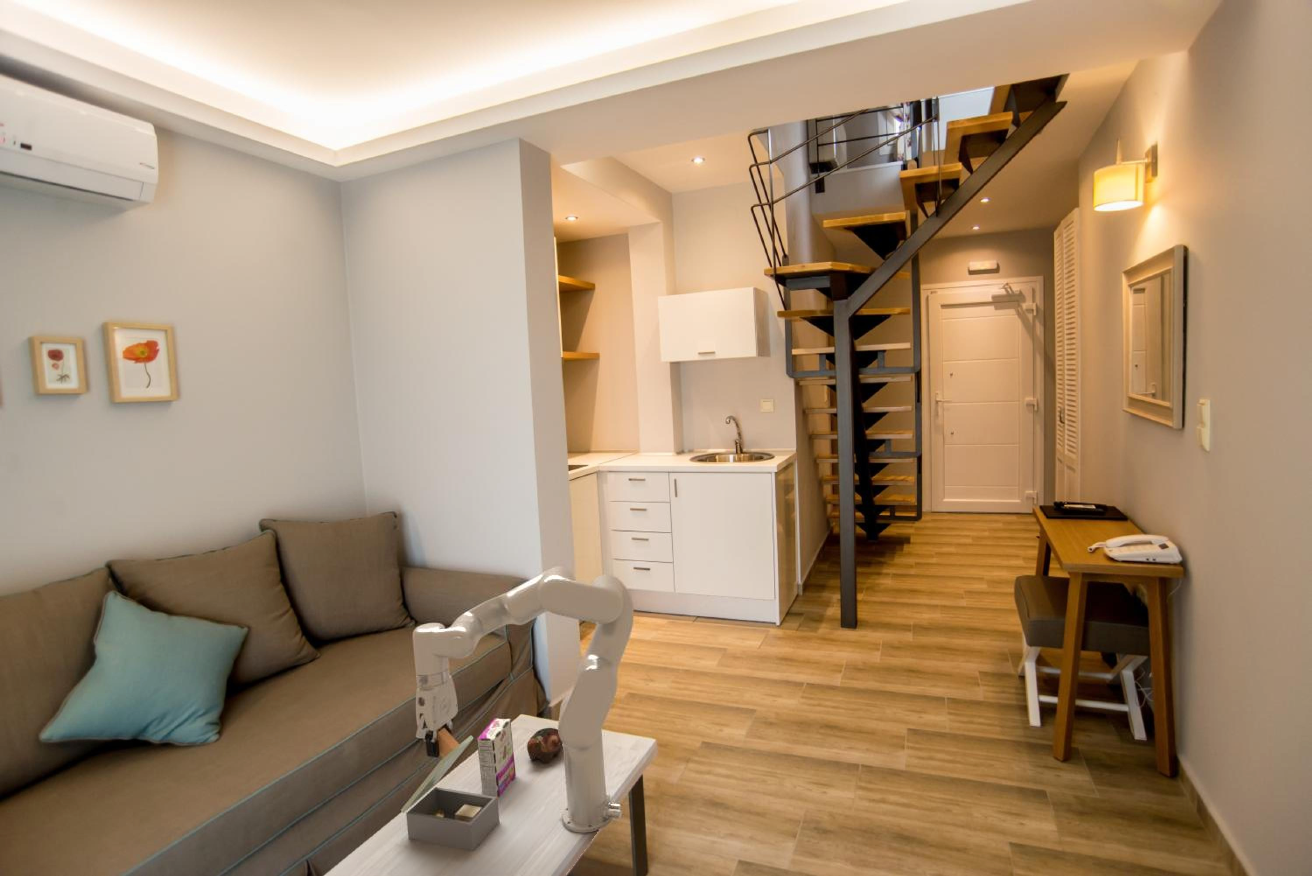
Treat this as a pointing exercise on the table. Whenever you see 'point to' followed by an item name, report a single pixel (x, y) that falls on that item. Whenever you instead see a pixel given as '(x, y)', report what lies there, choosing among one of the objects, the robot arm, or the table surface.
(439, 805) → the parts tub
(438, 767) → the lid
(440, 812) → the brass cylinder
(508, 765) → the candy bar box
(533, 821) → the table surface
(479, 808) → the birch block
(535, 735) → the decorative turtle
